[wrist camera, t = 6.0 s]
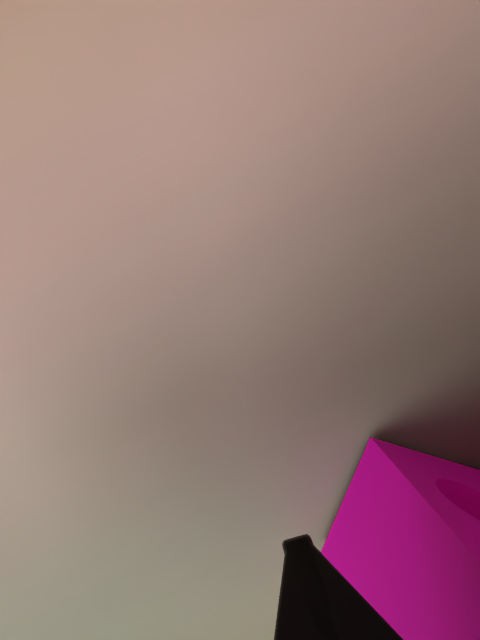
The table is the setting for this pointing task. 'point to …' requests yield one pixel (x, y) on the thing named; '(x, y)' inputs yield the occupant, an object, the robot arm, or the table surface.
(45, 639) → the table surface
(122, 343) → the table surface
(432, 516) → the magenta cradle block
